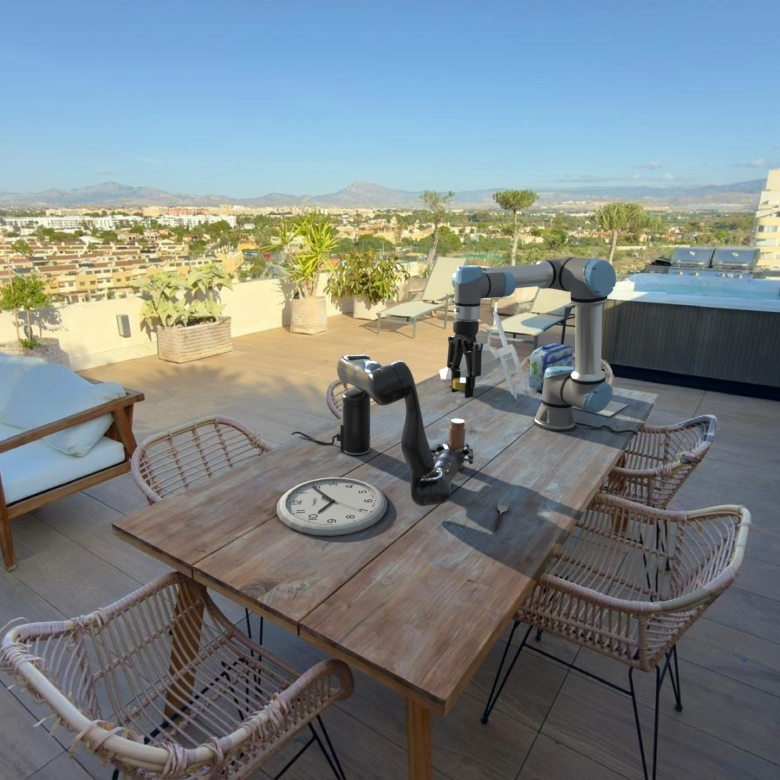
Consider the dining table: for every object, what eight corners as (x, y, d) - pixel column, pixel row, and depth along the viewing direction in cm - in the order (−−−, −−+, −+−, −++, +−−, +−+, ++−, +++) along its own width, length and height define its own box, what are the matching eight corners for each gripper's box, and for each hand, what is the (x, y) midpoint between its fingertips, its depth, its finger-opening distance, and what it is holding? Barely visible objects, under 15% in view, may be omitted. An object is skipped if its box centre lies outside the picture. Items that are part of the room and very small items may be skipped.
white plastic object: (461, 429, 252) (437, 405, 227) (444, 352, 274) (420, 323, 250) (535, 404, 240) (518, 377, 215) (510, 326, 262) (492, 293, 237)
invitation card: (608, 416, 214) (573, 407, 224) (608, 416, 214) (573, 408, 224) (628, 404, 229) (594, 396, 238) (628, 405, 229) (594, 397, 238)
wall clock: (392, 527, 129) (268, 531, 127) (391, 533, 130) (269, 537, 127) (383, 473, 158) (282, 475, 155) (383, 478, 158) (282, 480, 156)
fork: (489, 532, 131) (490, 525, 131) (499, 502, 145) (500, 496, 145) (500, 534, 130) (500, 527, 130) (509, 504, 145) (509, 497, 144)
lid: (449, 385, 162) (449, 378, 161) (466, 384, 164) (467, 376, 163) (457, 391, 157) (458, 383, 156) (475, 389, 158) (475, 381, 158)
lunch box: (544, 395, 239) (549, 351, 233) (524, 390, 247) (528, 347, 240) (571, 384, 257) (577, 343, 251) (552, 380, 264) (556, 339, 258)
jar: (465, 468, 166) (468, 422, 161) (451, 470, 165) (453, 424, 160) (459, 462, 170) (461, 417, 166) (445, 464, 169) (447, 418, 164)
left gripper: (470, 458, 149) (481, 436, 165) (422, 450, 154) (436, 430, 169) (469, 481, 151) (479, 458, 167) (421, 473, 156) (435, 451, 171)
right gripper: (436, 315, 160) (434, 388, 167) (477, 325, 144) (472, 405, 151) (456, 314, 163) (452, 384, 170) (497, 323, 148) (492, 401, 155)
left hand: (458, 444), depth 168 cm, fingers closed on jar, 5 cm apart
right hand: (462, 394), depth 161 cm, fingers closed on lid, 6 cm apart
